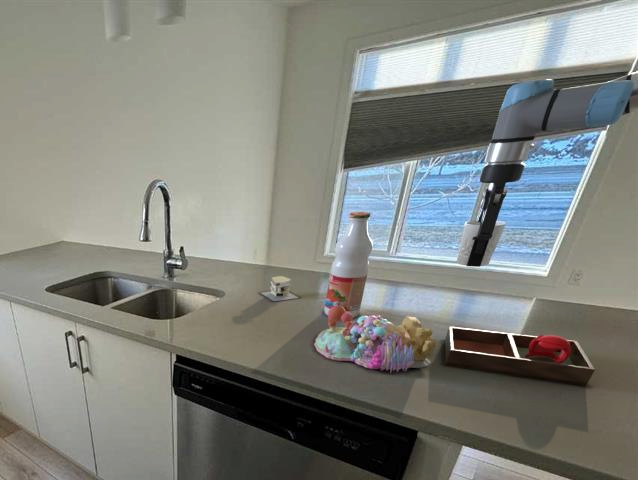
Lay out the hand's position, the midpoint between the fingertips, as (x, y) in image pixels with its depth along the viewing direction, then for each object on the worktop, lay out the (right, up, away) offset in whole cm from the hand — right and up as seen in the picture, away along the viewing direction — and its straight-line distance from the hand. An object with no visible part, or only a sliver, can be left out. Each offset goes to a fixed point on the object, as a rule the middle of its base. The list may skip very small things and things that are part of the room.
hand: (472, 262), depth 105 cm
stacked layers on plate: (-38, -2, +33) cm, 51 cm away
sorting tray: (-6, -27, -16) cm, 32 cm away
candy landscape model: (-31, -24, -6) cm, 39 cm away
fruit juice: (-27, -11, +15) cm, 32 cm away
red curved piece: (-2, -27, -19) cm, 34 cm away
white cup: (0, 0, 0) cm, 0 cm away
